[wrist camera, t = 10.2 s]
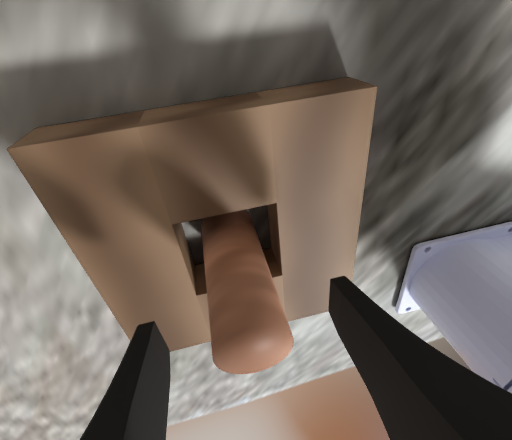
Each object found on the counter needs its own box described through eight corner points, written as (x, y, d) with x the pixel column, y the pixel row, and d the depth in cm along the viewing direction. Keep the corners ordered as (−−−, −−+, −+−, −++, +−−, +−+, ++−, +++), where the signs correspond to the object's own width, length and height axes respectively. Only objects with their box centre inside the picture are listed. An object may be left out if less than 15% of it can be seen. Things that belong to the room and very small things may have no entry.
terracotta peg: (248, 199, 16) (292, 315, 10) (254, 239, 18) (294, 361, 11) (195, 210, 16) (204, 337, 9) (207, 250, 18) (220, 381, 11)
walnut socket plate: (348, 77, 14) (377, 86, 12) (333, 279, 22) (348, 305, 20) (35, 127, 12) (6, 149, 10) (146, 325, 20) (142, 358, 18)
